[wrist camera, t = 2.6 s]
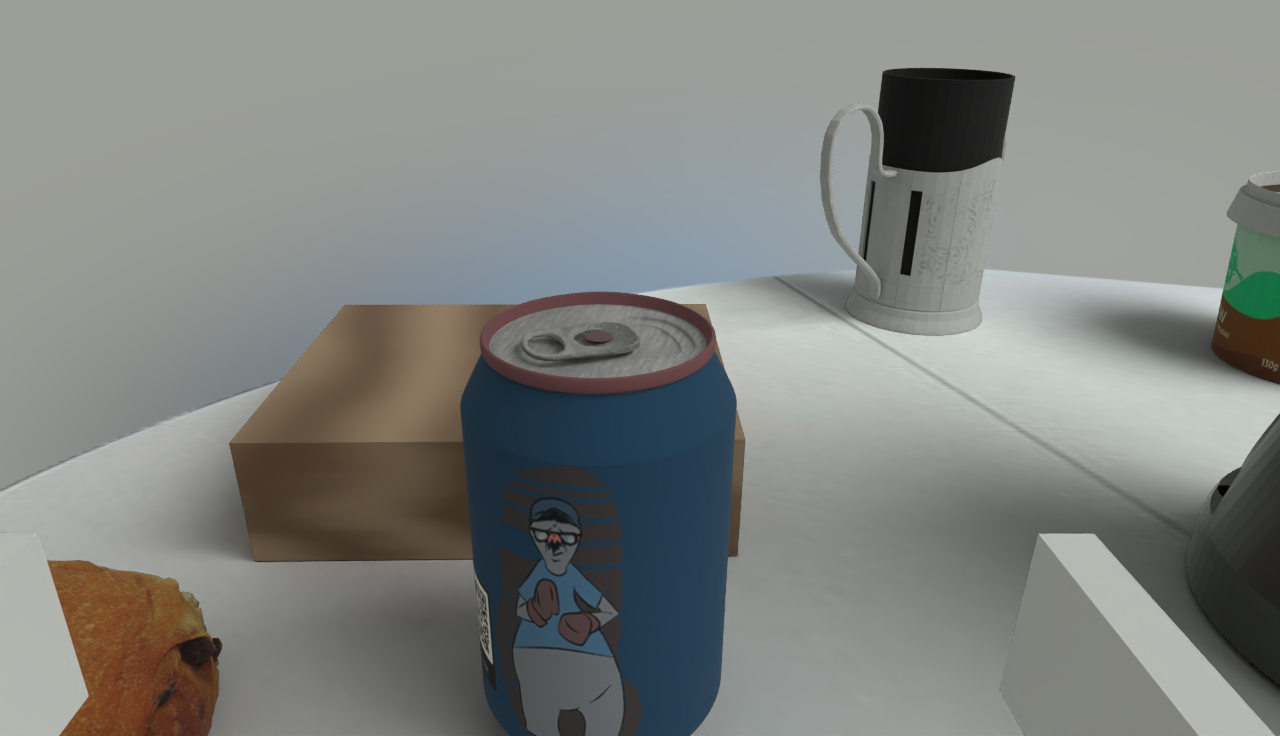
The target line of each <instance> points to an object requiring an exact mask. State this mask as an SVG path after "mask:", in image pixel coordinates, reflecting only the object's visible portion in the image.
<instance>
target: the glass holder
mask: <svg viewBox="0 0 1280 736" xmlns="http://www.w3.org/2000/svg"><path fill="white" fill-rule="evenodd" d="M1014 81H1015V76H1013V75H1010V74H1005V73H1000V72H992V71H981V70H967V69H947V68H946V69H945V68H906V69H891V70H886V71H883V75H882V83H881V91H880V100H879V108H878V113H877V112H876V111H875V109H874V108H873V107H871V106H868V105H865V104H860V103H858V104H852V105H848V106H847V107H845V108H843V109H842V110H840V111H839V112H838V113H837V114H836V115H835V116H834V118H833V119H832V120H831V122H830V124H829V126H828V128H827V131H826V133H825V137H824V142H823V147H822V153H821V170H820V171H821V172H820V183H821V195H822V203H823V207H824V211H825V215H826V219H827V222H828V225H829V228H830V231H831V234H832V235H833V237H834V238H835V239H836V241H837V242H838V243H839V245H840V246H841V247H842V248H843V250H844V251H845V252H846V253H847V255H848V256H849V257H850V258H851V259H852V260H853V261H854V262H855V263H856V264H857V270H856V278H855V285H854V288H853V291H852V293H851V294H850V295H849V297H848V299H847V301H846V304H845V305H846V309H847V311H848V312H849V313H850V314H851V315H852V316H853V317H855V318H857V319H858V320H860V321H862V322H865V323H867V324H869V325H872V326H875V327H878V328H882V329H886V330H890V331H895V332H900V333H907V334H916V335H952V334H959V333H963V332H967V331H970V330H973V329H975V328H976V327H978V326H979V325H980V324H981V322H982V313H981V310H980V307H979V293H980V287H981V282H982V276H983V271H984V265H985V259H986V254H987V249H988V242H989V238H990V232H991V226H992V221H993V215H994V210H995V204H996V199H997V194H998V188H999V182H1000V176H1001V171H1002V166H1003V159H1004V153H1005V146H1006V142H1005V131H1006V126H1007V120H1008V115H1009V109H1010V104H1011V98H1012V93H1013V92H1012V91H1013V87H1014ZM859 110H861V111H863V112H864V114H865V115H866V116H867V118H868V120H869V123H870V126H871V133H872V144H871V145H872V146H871V155H870V159H869V168H868V176H867V185H866V194H865V202H864V210H863V219H862V228H861V236H860V245H859V253H857V252H856V251H855V249H854V248H853V247H852V246H851V244H850V243H849V241H848V240H847V238H846V236H845V235H844V233H843V231H842V229H841V226H840V223H839V220H838V217H837V213H836V208H835V205H834V199H833V188H832V166H833V152H834V147H835V142H836V137H837V134H838V132H839V130H840V127H841V125H842V123H843V122H844V121H845V120H846V119H847V118H848V116H850V115H851V114H853V113H855V112H856V111H859Z"/></svg>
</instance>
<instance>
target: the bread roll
mask: <svg viewBox="0 0 1280 736" xmlns="http://www.w3.org/2000/svg"><path fill="white" fill-rule="evenodd" d="M47 562H48V566H49V569H50V572H51V575H52V578H53V582H54V585H55V588H56V591H57V595H58V598H59V601H60V604H61V608H62V611H63V614H64V617H65V621H66V624H67V627H68V630H69V633H70V637H71V640H72V643H73V646H74V650H75V653H76V656H77V659H78V663H79V666H80V669H81V672H82V676H83V679H84V682H85V685H86V689H87V692H88V695H89V696H88V698H87V699H86V700H85V702H84V703H83V704H82V706H81V707H80V708H79V710H78V711H77V712H76V714H75V715H74V716H73V718H72V719H71V720H70V722H69V723H68V724H67V726H66V727H65V728H64V730H63V731H62V732H61V734H60V735H59V736H208V733H209V731H210V728H211V722H212V717H213V712H214V707H215V704H216V701H217V697H218V689H219V671H218V669H217V667H216V666H217V665H218V660H217V657H218V655H219V653H220V652H221V649H222V643H221V641H220V640H219V638H211V637H210V635H209V634H208V633H207V630H206V626H205V625H204V621H203V615H202V611H201V608H198V606H199V602H198V601H197V600H196V599H195V598H194V596H193V594H192V593H188V592H180V591H179V586H178V582H177V581H176V580H174V579H171V578H167V579H162V578H160V577H158V576H154V575H149V574H144V573H139V572H131V571H119V570H114V569H109V568H106V567H100V566H96V565H95V564H93V563H91V562H89V561H81V560H75V561H49V560H47Z"/></svg>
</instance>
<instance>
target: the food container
mask: <svg viewBox="0 0 1280 736" xmlns="http://www.w3.org/2000/svg"><path fill="white" fill-rule="evenodd" d="M1227 216H1228V217H1229V218H1230V219H1231V220H1232V221H1234V222H1236V223H1237V224H1238V225H1237V229H1236V233H1235V238H1234V243H1233V248H1232V252H1231V257H1230V261H1229V266H1228V271H1227V276H1226V280H1225V285H1224V289H1223V294H1222V299H1221V303H1220V308H1219V313H1218V317H1217V322H1216V327H1215V331H1214V336H1213V341H1212V350H1213V351H1214V353H1215V354H1216V355H1217V356H1218V357H1219V358H1220V359H1222V360H1223V361H1225V362H1226V363H1228V364H1230V365H1231V366H1233V367H1235V368H1237V369H1239V370H1242V371H1244V372H1246V373H1248V374H1251V375H1254V376H1256V377H1259V378H1262V379H1265V380H1268V381H1271V382H1274V383H1277V384H1280V171H1271V172H1263V173H1259V174H1255V175H1252V176H1251V177H1250V178H1249V180H1248V183H1247V185H1245V186H1242V187H1241V188H1240V190H1239V192H1238V193H1237V195H1236V197H1235V199H1234V200H1233V202H1232V204H1231V206H1230V207H1229V209H1228V211H1227Z"/></svg>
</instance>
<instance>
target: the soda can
mask: <svg viewBox="0 0 1280 736" xmlns="http://www.w3.org/2000/svg"><path fill="white" fill-rule="evenodd" d="M715 347H716V335H715V331H714V328H713V326H712V325H711V323H710V322H709V321H708V320H707V319H706V318H705V317H703V316H702V315H701V314H699V313H698V312H696V311H694V310H692V309H690V308H688V307H686V306H683V305H681V304H678V303H675V302H671V301H668V300H664V299H660V298H655V297H650V296H644V295H637V294H629V293H619V292H582V293H572V294H565V295H557V296H552V297H546V298H541V299H537V300H532V301H529V302H526V303H522V304H519V305H517V306H514V307H511V308H509V309H507V310H505V311H503V312H501V313H499V314H498V315H496V316H495V317H493V318H492V319H491V320H490V321H489V322H488V323H487V324H486V325H485V326H484V328H483V330H482V332H481V335H480V350H481V355H480V357H479V359H478V361H477V363H476V365H475V367H474V370H473V372H472V374H471V376H470V378H469V380H468V382H467V385H466V387H465V389H464V392H463V394H462V398H461V402H460V412H461V423H462V435H463V447H464V458H465V470H466V482H467V494H468V505H469V517H470V529H471V540H472V552H473V564H474V576H475V587H476V599H477V611H478V622H479V634H480V646H481V658H482V669H483V681H484V690H485V694H486V698H487V701H488V704H489V706H490V708H491V710H492V712H493V714H494V716H495V717H496V719H497V720H498V722H499V723H500V725H501V726H502V727H503V728H504V729H505V731H506V732H507V733H508V734H509V735H510V736H690V735H691V734H692V733H693V732H694V731H695V730H696V729H697V728H698V727H699V725H700V724H701V723H702V722H703V720H704V719H705V718H706V716H707V715H708V713H709V711H710V710H711V708H712V706H713V704H714V702H715V699H716V697H717V694H718V690H719V686H720V679H721V664H722V646H723V629H724V612H725V595H726V578H727V561H728V543H729V526H730V509H731V492H732V475H733V458H734V440H735V423H736V406H737V402H736V395H735V392H734V389H733V387H732V384H731V382H730V380H729V378H728V376H727V374H726V372H725V370H724V368H723V366H722V364H721V362H720V360H719V358H718V356H717V354H716V352H715Z"/></svg>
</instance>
